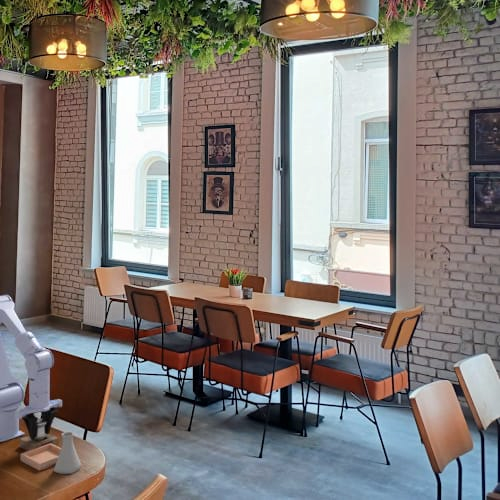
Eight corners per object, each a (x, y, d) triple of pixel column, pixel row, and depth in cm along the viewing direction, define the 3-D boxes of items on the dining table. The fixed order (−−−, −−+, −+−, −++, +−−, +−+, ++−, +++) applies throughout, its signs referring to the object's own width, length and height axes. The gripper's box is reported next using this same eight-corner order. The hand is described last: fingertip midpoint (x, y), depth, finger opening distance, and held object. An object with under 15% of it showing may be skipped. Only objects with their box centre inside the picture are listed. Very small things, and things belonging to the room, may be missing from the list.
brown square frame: (19, 447, 170) (19, 438, 170) (43, 438, 177) (43, 431, 177) (34, 454, 166) (34, 446, 165) (58, 445, 172) (58, 437, 172)
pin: (29, 446, 171) (29, 421, 170) (41, 442, 174) (41, 417, 174) (37, 450, 168) (37, 425, 168) (49, 446, 172) (49, 421, 171)
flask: (73, 476, 153) (73, 440, 152) (48, 473, 154) (48, 437, 154) (85, 464, 160) (86, 430, 159) (62, 461, 162) (62, 427, 161)
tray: (20, 460, 161) (20, 453, 161) (50, 449, 169) (50, 443, 169) (40, 470, 155) (40, 463, 155) (70, 459, 163) (70, 452, 163)
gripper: (24, 400, 162) (24, 446, 163) (68, 388, 173) (68, 431, 174) (11, 394, 166) (11, 440, 167) (54, 383, 178) (54, 426, 179)
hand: (39, 435), depth 171 cm, fingers closed on pin, 4 cm apart
